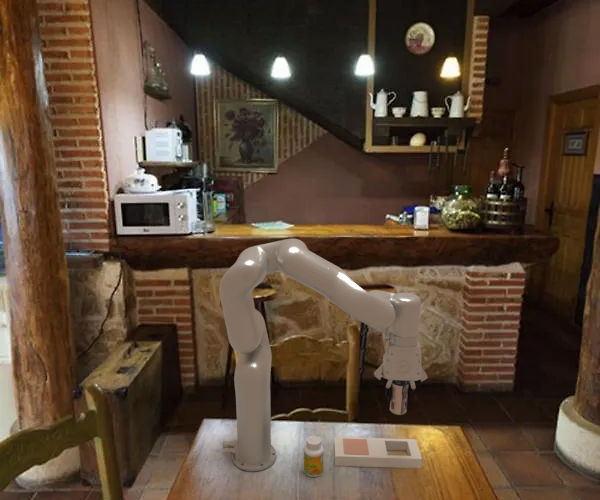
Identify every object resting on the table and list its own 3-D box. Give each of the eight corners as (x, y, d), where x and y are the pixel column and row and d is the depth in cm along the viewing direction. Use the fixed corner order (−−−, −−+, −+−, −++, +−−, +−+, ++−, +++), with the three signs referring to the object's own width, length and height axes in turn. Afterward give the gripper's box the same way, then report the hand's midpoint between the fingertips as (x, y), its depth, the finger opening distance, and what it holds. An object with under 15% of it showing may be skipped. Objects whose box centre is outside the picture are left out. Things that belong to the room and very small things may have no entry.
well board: (334, 465, 136) (335, 455, 135) (334, 445, 144) (334, 436, 144) (421, 468, 135) (422, 458, 134) (415, 448, 143) (415, 438, 143)
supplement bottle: (300, 474, 132) (301, 443, 130) (307, 462, 137) (307, 432, 134) (319, 479, 130) (320, 447, 128) (325, 467, 135) (326, 436, 133)
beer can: (406, 417, 133) (409, 377, 130) (389, 414, 134) (391, 375, 131) (406, 407, 138) (409, 369, 135) (389, 405, 139) (392, 367, 136)
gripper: (373, 342, 128) (369, 405, 132) (438, 345, 127) (432, 407, 131) (370, 331, 135) (367, 391, 139) (432, 334, 134) (426, 393, 138)
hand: (398, 398), depth 135 cm, fingers closed on beer can, 4 cm apart
